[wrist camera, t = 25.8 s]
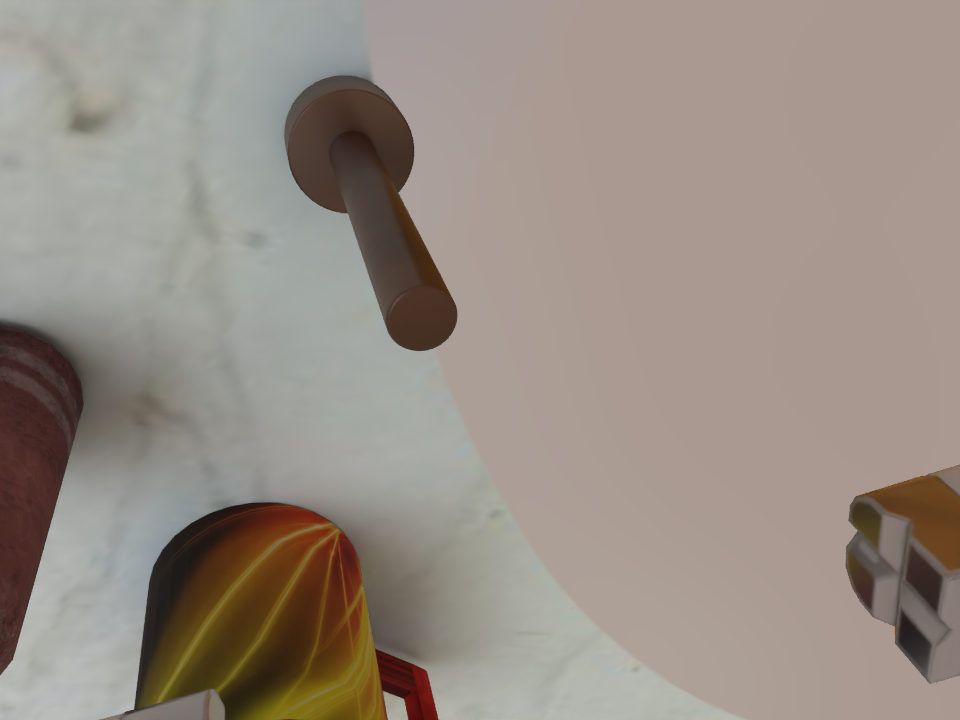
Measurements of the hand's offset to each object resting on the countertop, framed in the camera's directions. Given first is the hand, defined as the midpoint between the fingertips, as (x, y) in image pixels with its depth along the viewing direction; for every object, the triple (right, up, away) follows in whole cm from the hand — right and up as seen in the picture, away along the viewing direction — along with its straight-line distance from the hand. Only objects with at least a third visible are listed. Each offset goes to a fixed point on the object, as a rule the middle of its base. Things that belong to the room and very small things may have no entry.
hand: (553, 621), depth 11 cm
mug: (-9, -8, +32) cm, 34 cm away
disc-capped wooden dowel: (-6, +12, +22) cm, 26 cm away
